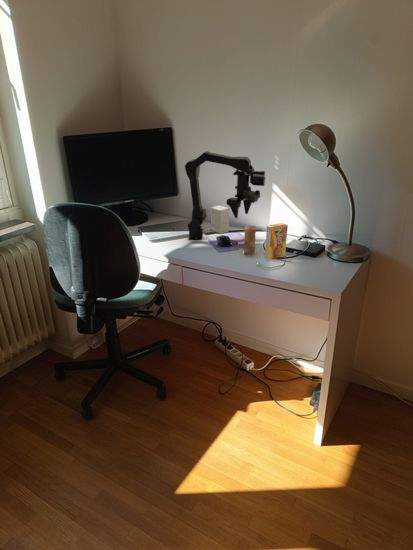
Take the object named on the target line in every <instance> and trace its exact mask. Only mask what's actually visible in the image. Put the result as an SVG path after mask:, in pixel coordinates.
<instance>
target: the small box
mask: <svg viewBox="0 0 413 550" xmlns="http://www.w3.org/2000/svg"><path fill="white" fill-rule="evenodd" d="M210 230H211V232H215V233H218V234H225V233H228V232H230V207H226V206H222V205H220V204H219V205H215V206H211V207H210Z"/></svg>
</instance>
